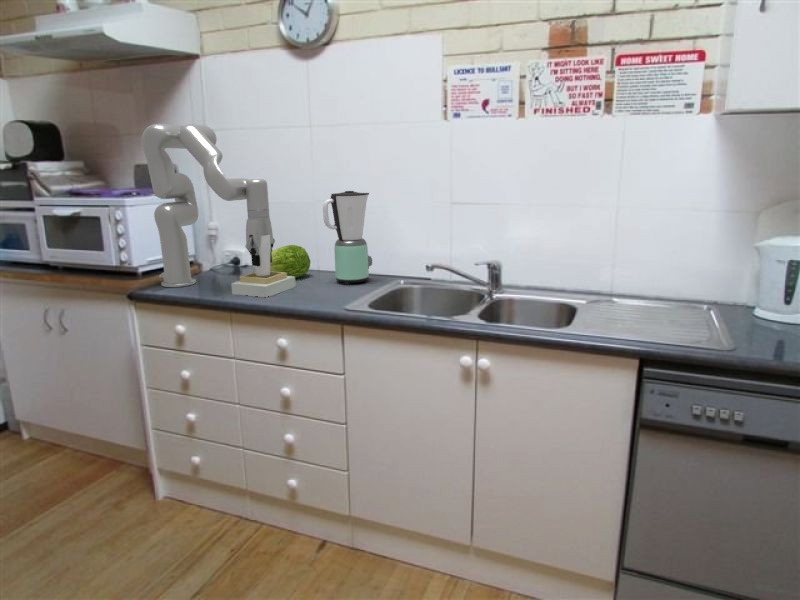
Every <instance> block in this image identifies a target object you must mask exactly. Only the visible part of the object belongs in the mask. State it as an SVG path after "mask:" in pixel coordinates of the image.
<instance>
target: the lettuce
mask: <svg viewBox="0 0 800 600" xmlns="http://www.w3.org/2000/svg"><path fill="white" fill-rule="evenodd" d="M271 254H272V263H270V271H273V272H285V273H287V276H294V277H295V279H299V278H300V277H302V276H304V275H306V274H307V273H308V272H309V269H310V267H311V259H310V255H309V253H308V252H307V251H306V249H305V248H303V247H302V246H299V245H296V244H295V245H294V244H289V245H285V246H281V247H278V248H276V249H273V250H272V252H271ZM252 267H253V269H254V271H255V266H253V265H252Z"/></svg>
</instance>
